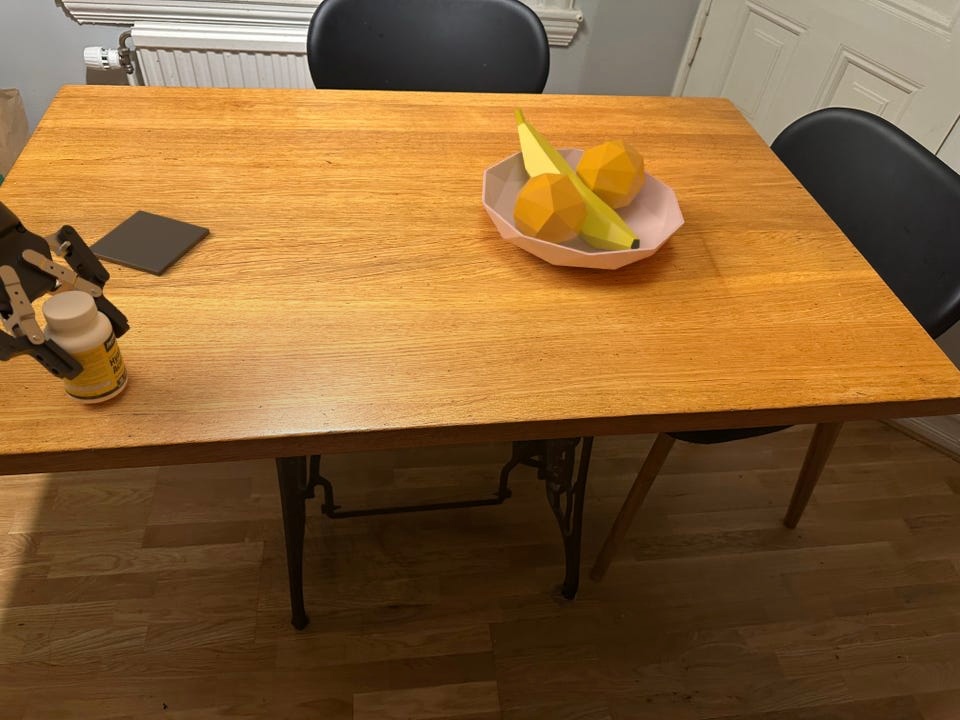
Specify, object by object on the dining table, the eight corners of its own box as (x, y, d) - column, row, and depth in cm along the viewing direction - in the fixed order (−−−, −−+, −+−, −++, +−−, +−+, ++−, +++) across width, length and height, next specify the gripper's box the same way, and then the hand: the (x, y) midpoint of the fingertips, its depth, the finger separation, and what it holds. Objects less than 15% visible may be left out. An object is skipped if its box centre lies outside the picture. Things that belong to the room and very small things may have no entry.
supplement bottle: (132, 397, 66) (104, 317, 59) (68, 411, 64) (31, 330, 57) (126, 360, 69) (99, 280, 62) (65, 372, 67) (30, 292, 60)
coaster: (159, 276, 80) (158, 272, 80) (85, 254, 82) (83, 250, 81) (210, 232, 87) (209, 228, 87) (140, 213, 89) (139, 209, 88)
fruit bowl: (707, 280, 89) (737, 203, 82) (507, 303, 82) (519, 220, 74) (617, 173, 108) (635, 102, 101) (449, 183, 101) (454, 108, 94)
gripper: (-138, 229, 49) (60, 394, 55) (19, 146, 60) (171, 293, 66) (-159, 271, 54) (26, 420, 60) (-9, 188, 64) (135, 321, 70)
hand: (101, 353), depth 63 cm, fingers closed on supplement bottle, 5 cm apart
